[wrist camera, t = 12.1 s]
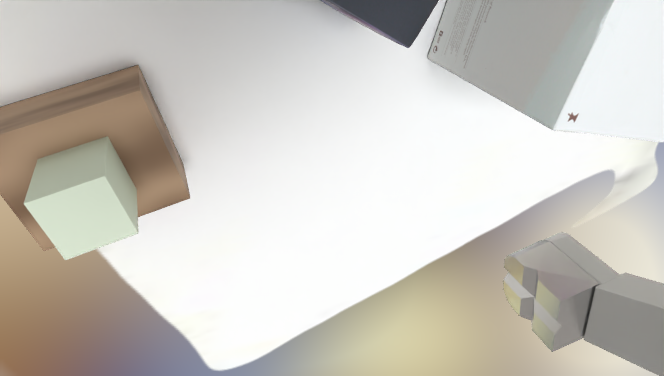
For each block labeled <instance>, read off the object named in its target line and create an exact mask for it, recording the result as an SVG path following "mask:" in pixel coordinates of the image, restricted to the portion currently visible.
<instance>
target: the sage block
mask: <svg viewBox="0 0 664 376" xmlns="http://www.w3.org/2000/svg"><path fill="white" fill-rule="evenodd" d="M24 205H25V206H26V208H27V209H28V210H29V212H30V213H31V215H32V216H33V217H34V219H35V220H36V221H37V223H38V224H39V225H40V227H41V228H42V229H43V231H44V232H45V233H46V235H47V236H48V238H49V239H50V240H51V242H52V243H53V244H54V246H55V247H56V248H57V250H58V251H59V252H60V253H61V255H62V256H63V258H64V259H65V260H67V259H70V258H73V257H75V256H78V255H81V254H83V253H86V252H89V251H92V250H95V249H97V248H100V247H103V246H105V245H108V244H111V243H114V242H116V241H119V240H122V239H124V238H127V237H130V236H133V235H135V234H138V211H137V189H136V187H135V185H134V184H133V182H132V180H131V178H130V176H129V174H128V173H127V171H126V169H125V167H124V165H123V163H122V162H121V160H120V158H119V156H118V154H117V152H116V151H115V149H114V147H113V145H112V143H111V141H110V140H109V138H108V136H106V137H103V138H100V139H97V140H94V141H91V142H88V143H85V144H82V145H79V146H76V147H73V148H70V149H67V150H64V151H61V152H58V153H55V154H52V155H49V156H46V157H43V158H39V159H38V160H37V163H36V166H35V169H34V172H33V175H32V179H31V182H30V185H29V188H28V191H27V194H26V198H25V201H24Z"/></svg>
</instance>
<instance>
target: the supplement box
mask: <svg viewBox="0 0 664 376" xmlns="http://www.w3.org/2000/svg"><path fill="white" fill-rule="evenodd" d="M428 59H429V60H431V61H432V62H434V63H436V64H438V65H439V66H441V67H443V68H445V69H446V70H448V71H450V72H452V73H453V74H455V75H457V76H459V77H460V78H462V79H464V80H465V81H467V82H469V83H471V84H473V85H474V86H476V87H478V88H480V89H481V90H483V91H485V92H487V93H488V94H490V95H492V96H494V97H495V98H497V99H499V100H501V101H502V102H504V103H506V104H508V105H509V106H511V107H513V108H515V109H516V110H518V111H520V112H522V113H523V114H525V115H527V116H529V117H530V118H532V119H534V120H536V121H537V122H539V123H541V124H543V125H544V126H546V127H548V128H550V129H551V130H554V131H564V132H576V133H586V134H595V135H603V136H611V137H620V138H629V139H637V140H646V141H654V142H664V0H447V3H446V6H445V9H444V12H443V15H442V17H441V20H440V23H439V26H438V29H437V32H436V35H435V38H434V41H433V43H432V46H431V49H430V52H429V54H428Z"/></svg>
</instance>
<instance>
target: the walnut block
mask: <svg viewBox="0 0 664 376" xmlns="http://www.w3.org/2000/svg"><path fill="white" fill-rule="evenodd" d="M106 136H108V138H109V140H110V141H111V143H112V145H113V147H114V149H115V151H116V152H117V154H118V156H119V158H120V160H121V162H122V163H123V165H124V167H125V169H126V171H127V173H128V174H129V176H130V178H131V180H132V182H133V184H134V185H135V187H136V189H137V211H138V217H140V216H142V215H145V214H148V213H151V212H154V211H156V210H159V209H162V208H165V207H167V206H170V205H173V204H176V203H178V202H181V201H184V200H187V199H189V198H190V194H189V189H188V184H187V179H186V175H185V170H184V165H183V163H182V160H181V158H180V156H179V154H178V152H177V149H176V147H175V145H174V143H173V141H172V138H171V136H170V134H169V132H168V129H167V127H166V125H165V123H164V121H163V118H162V116H161V114H160V112H159V110H158V107H157V105H156V103H155V101H154V99H153V96H152V94H151V92H150V90H149V88H148V85H147V83H146V81H145V79H144V77H143V74H142V72H141V70H140V68H139V65H136V66H133V67H130V68H126V69H123V70H120V71H117V72H113V73H110V74H107V75H103V76H100V77H97V78H94V79H90V80H87V81H84V82H80V83H77V84H74V85H71V86H67V87H64V88H61V89H58V90H54V91H51V92H48V93H44V94H41V95H38V96H35V97H31V98H28V99H25V100H22V101H18V102H15V103H12V104H8V105H5V106H2V107H0V195H1V196H2V197H3V198H4V200H5V201H6V202H7V204H8V205H9V206H10V208H11V209H12V210H13V212H14V213H15V214H16V215H17V217H18V218H19V219H20V221H21V222H22V223H23V225H24V226H25V227H26V228H27V230H28V231H29V232H30V234H31V235H32V236H33V238H34V239H35V240H36V242H37V243H38V244H39V245H40V247H41V248H42V249H43V251H46V250H49V249H51V248H54V247H55V246H54V244H53V243H52V242H51V240H50V239H49V238H48V236H47V235H46V233H45V232H44V231H43V229H42V228H41V227H40V225H39V224H38V223H37V221H36V220H35V219H34V217H33V216H32V215H31V213H30V212H29V210H28V209H27V208H26V206H25V205H24V201H25V198H26V194H27V191H28V188H29V185H30V182H31V179H32V175H33V172H34V169H35V166H36V163H37V160H38V159H39V158H43V157H46V156H49V155H52V154H55V153H58V152H61V151H64V150H67V149H70V148H73V147H76V146H79V145H82V144H85V143H88V142H91V141H94V140H97V139H100V138H103V137H106Z"/></svg>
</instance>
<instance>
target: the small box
mask: <svg viewBox="0 0 664 376" xmlns="http://www.w3.org/2000/svg"><path fill="white" fill-rule="evenodd" d="M321 1H322V2H324V3H325V4H327V5H329V6H330V7H332V8H333V9H335V10H337V11H339V12H340V13H342V14H344V15H346V16H347V17H349V18H351V19H353V20H355V21H356V22H358V23H360V24H362V25H363V26H365V27H367V28H369V29H371V30H373V31H375V32H376V33H378V34H380V35H382V36H384V37H386V38H388V39H390V40H392V41H394V42H396V43H398V44H400V45H403V46H405V47H406V48H409V47H410V46H411V45H412V43H413V42H414V40H415V39H416V37H417V36H418V34H419V32H420V31H421V29H422V27H423V26H424V24H425V22H426V21H427V19H428V17H429V16H430V14H431V12H432V11H433V9H434V7H435V6H436V4H437V2H438V1H439V0H321Z"/></svg>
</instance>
